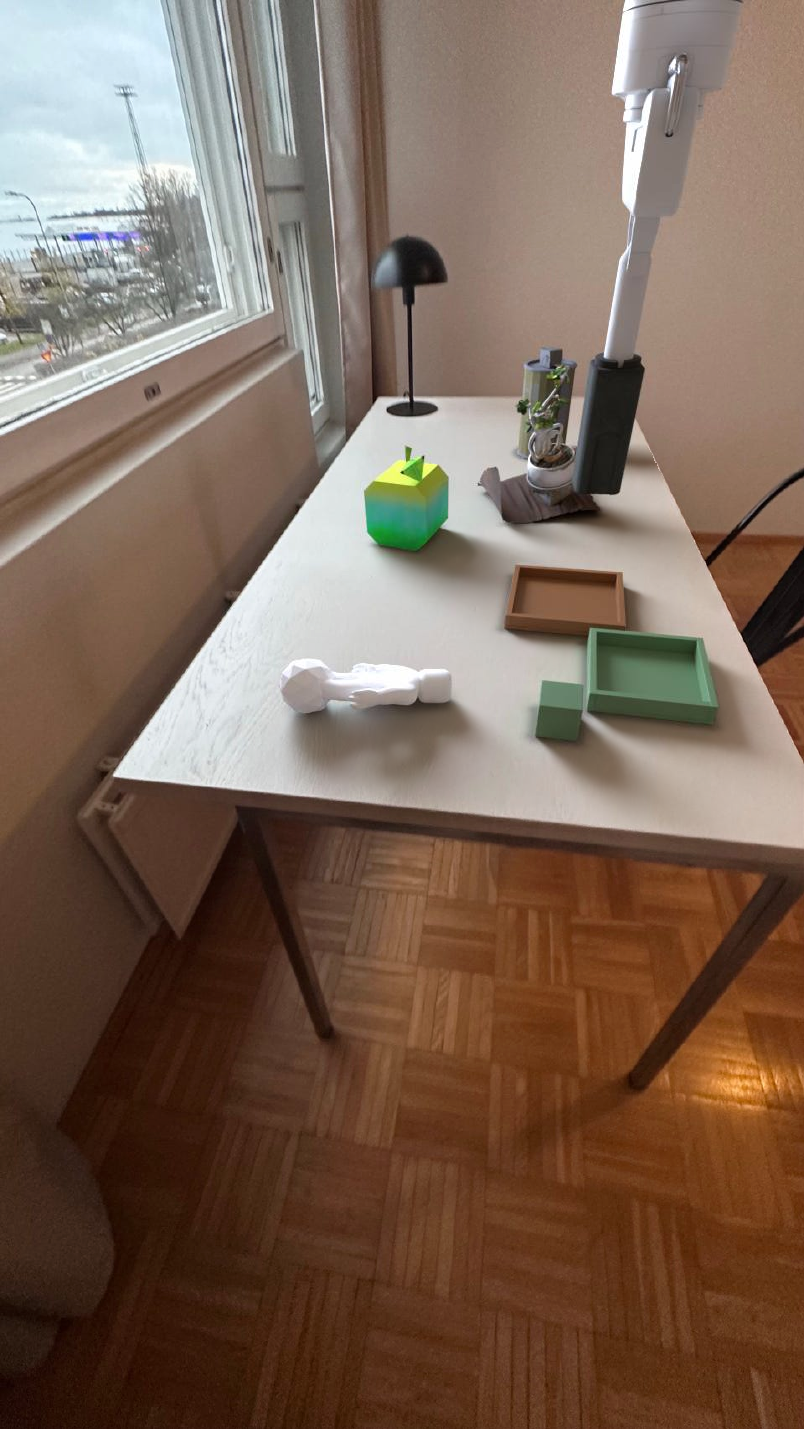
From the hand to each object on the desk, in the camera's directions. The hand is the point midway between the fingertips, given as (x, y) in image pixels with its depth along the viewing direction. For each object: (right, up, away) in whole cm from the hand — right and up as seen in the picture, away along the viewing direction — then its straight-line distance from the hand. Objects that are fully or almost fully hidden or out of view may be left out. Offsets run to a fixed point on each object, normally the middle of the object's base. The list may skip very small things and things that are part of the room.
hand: (634, 272), depth 60 cm
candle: (0, -16, +14) cm, 21 cm away
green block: (-5, -43, +11) cm, 45 cm away
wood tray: (+1, -27, +30) cm, 40 cm away
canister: (+8, +15, +78) cm, 79 cm away
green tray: (+7, -38, +16) cm, 42 cm away
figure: (-26, -41, +15) cm, 51 cm away
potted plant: (+2, -3, +58) cm, 58 cm away
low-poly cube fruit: (-21, -11, +49) cm, 55 cm away
